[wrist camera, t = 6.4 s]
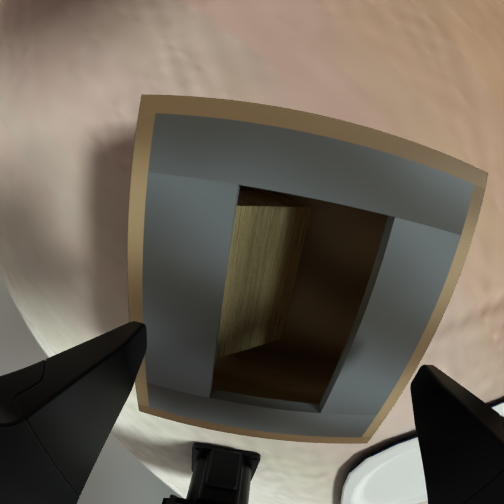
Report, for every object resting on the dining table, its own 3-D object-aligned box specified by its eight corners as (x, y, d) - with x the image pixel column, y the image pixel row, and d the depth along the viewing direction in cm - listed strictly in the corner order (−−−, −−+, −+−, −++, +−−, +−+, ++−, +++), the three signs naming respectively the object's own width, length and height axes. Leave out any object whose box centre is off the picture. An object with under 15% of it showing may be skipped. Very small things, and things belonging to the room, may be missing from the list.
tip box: (347, 364, 19) (366, 443, 13) (174, 335, 19) (137, 410, 13) (412, 159, 14) (488, 173, 8) (195, 114, 15) (138, 94, 8)
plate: (536, 372, 20) (543, 380, 18) (475, 472, 28) (478, 479, 26) (344, 441, 23) (346, 455, 21) (336, 515, 31) (337, 523, 29)
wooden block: (280, 338, 15) (193, 364, 12) (248, 310, 17) (168, 326, 15) (311, 207, 13) (207, 205, 10) (269, 192, 15) (176, 188, 12)
